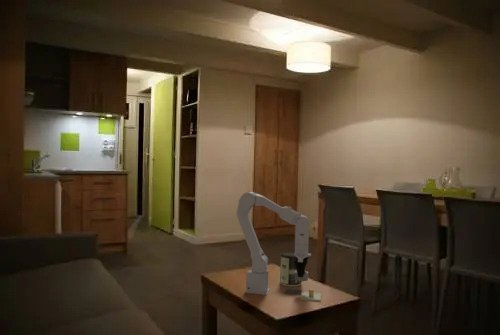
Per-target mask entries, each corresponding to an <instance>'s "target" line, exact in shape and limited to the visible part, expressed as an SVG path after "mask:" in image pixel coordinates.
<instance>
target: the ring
mask: <svg viewBox="0 0 500 335" xmlns="http://www.w3.org/2000/svg"><path fill="white" fill-rule="evenodd" d="M295 280H297V281H301V282H307V281H308V280H309V271H306V270H305V271H304V276H303V277H298V274H297V271H295Z"/></svg>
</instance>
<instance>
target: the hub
mask: <svg viewBox="0 0 500 335" xmlns="http://www.w3.org/2000/svg"><path fill="white" fill-rule="evenodd" d="M314 291H315V290H314V289H313V288H310V289H308V292H307V291H302V292H301V295H300V300H301V301H307V302H308V301H309V302H317V303H318V302H319V303H321V300H322V293H318V292H317V293H316V292H314Z"/></svg>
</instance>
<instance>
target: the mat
mask: <svg viewBox="0 0 500 335" xmlns="http://www.w3.org/2000/svg"><path fill="white" fill-rule="evenodd" d="M302 292H303V291H302V289H293V288H285V290H284V293H283V294H285V295H291V296H292V295H293V296H301V295H302Z"/></svg>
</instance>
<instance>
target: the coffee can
mask: <svg viewBox="0 0 500 335" xmlns="http://www.w3.org/2000/svg"><path fill="white" fill-rule="evenodd" d="M294 253H295V251H282V252H280V265H279V266H280V267H279V268H280V270H279V271H280V273H279V275H280V276H279V283H280V285H283V286H286V287H299V286H301V285H302V281H297V280H295V271H297V268H296V265H295V263H294V260H296V256H295V255H294Z"/></svg>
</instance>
